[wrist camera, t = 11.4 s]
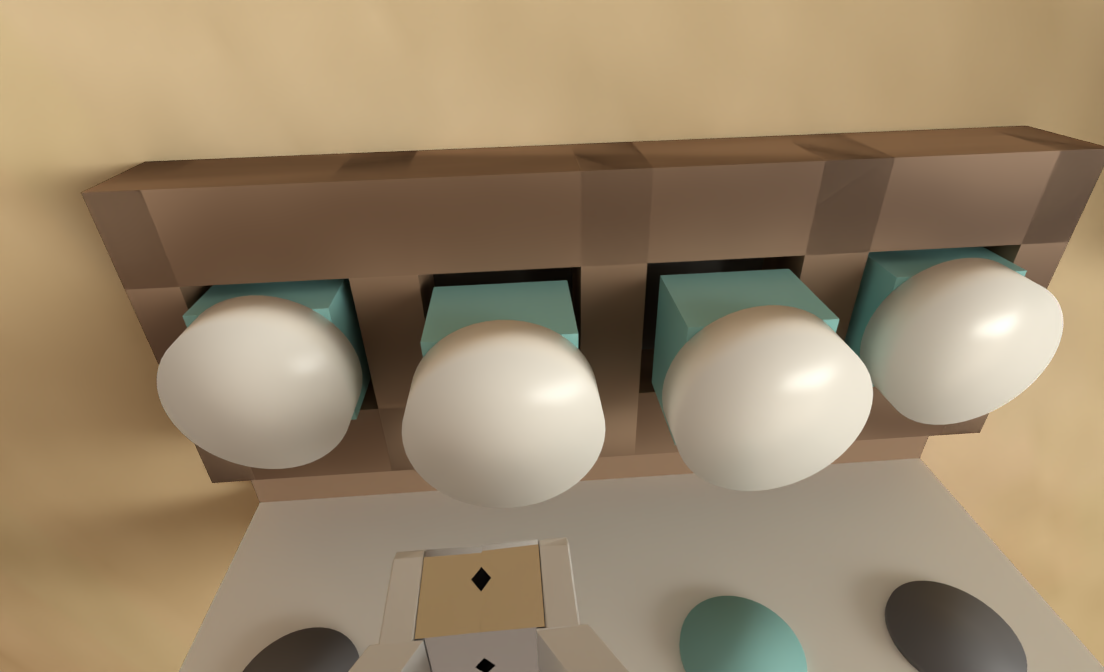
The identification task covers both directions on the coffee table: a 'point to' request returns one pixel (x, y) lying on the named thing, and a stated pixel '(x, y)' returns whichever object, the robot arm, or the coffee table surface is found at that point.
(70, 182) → the coffee table surface
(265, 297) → the button
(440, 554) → the robot arm
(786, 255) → the walnut button board
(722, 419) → the button
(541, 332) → the button
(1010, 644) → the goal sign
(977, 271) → the button
